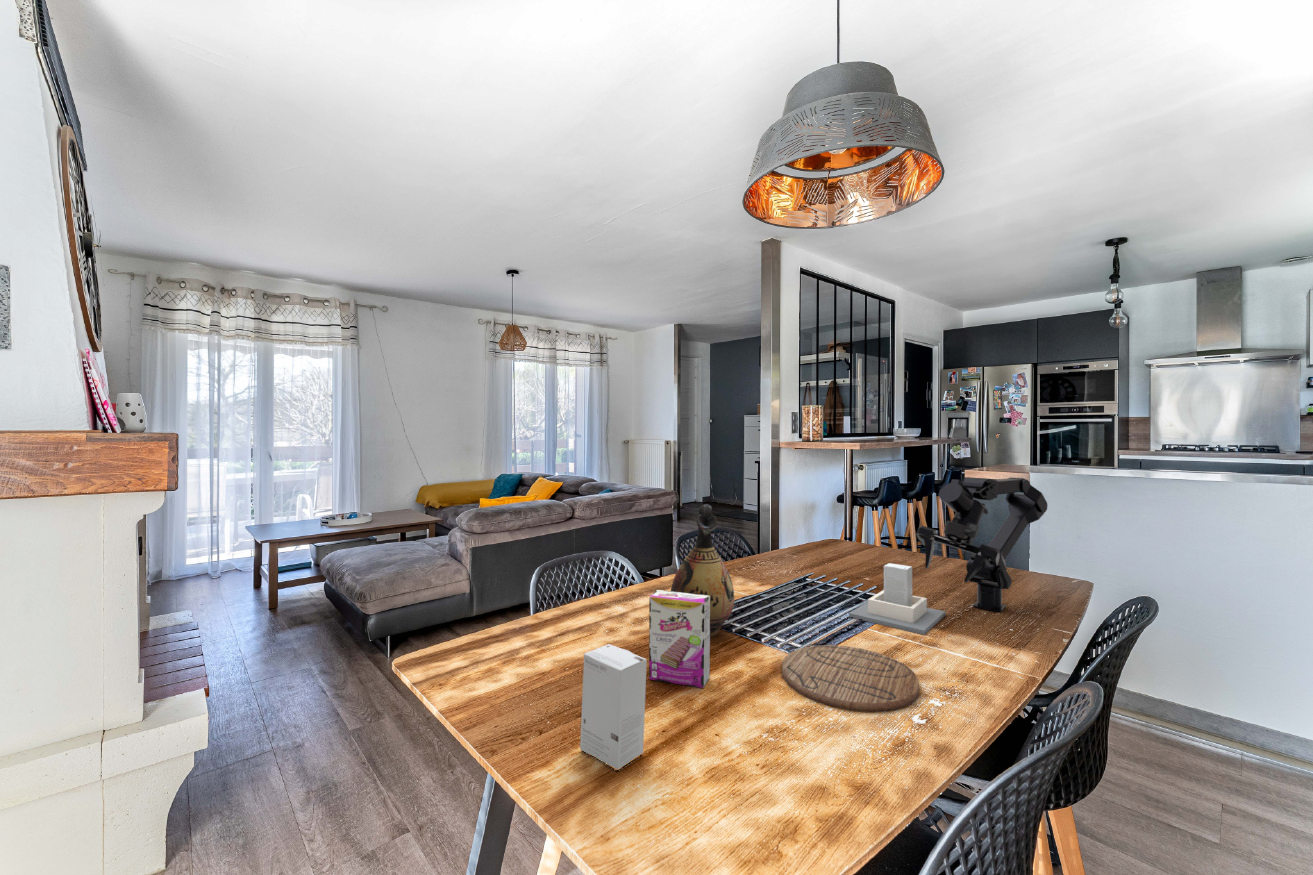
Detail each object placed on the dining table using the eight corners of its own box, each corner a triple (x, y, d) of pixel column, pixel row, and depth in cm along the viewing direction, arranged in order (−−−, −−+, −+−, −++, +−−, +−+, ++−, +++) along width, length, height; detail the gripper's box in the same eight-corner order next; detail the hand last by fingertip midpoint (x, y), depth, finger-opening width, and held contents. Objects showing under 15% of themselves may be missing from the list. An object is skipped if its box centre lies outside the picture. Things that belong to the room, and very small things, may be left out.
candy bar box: (647, 680, 105) (647, 596, 104) (656, 670, 109) (656, 588, 109) (704, 689, 101) (704, 602, 101) (710, 678, 106) (710, 594, 105)
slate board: (875, 600, 153) (875, 597, 153) (945, 615, 141) (945, 611, 141) (849, 616, 140) (849, 613, 140) (924, 634, 128) (924, 630, 128)
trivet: (910, 729, 88) (910, 717, 88) (763, 690, 101) (763, 680, 101) (926, 670, 110) (926, 661, 110) (803, 645, 123) (803, 636, 123)
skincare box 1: (579, 751, 82) (579, 653, 82) (608, 734, 86) (607, 641, 86) (619, 774, 76) (619, 669, 76) (647, 754, 81) (647, 655, 81)
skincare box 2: (912, 612, 140) (913, 566, 140) (907, 616, 137) (907, 569, 137) (888, 607, 144) (888, 562, 144) (882, 611, 141) (883, 565, 141)
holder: (883, 602, 148) (883, 589, 148) (926, 611, 141) (926, 598, 141) (867, 612, 140) (868, 599, 140) (913, 623, 133) (913, 608, 133)
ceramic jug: (738, 643, 123) (738, 511, 123) (670, 642, 123) (670, 510, 123) (729, 617, 140) (729, 501, 140) (669, 616, 140) (669, 500, 140)
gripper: (924, 497, 142) (902, 551, 139) (1005, 520, 130) (983, 579, 126) (930, 514, 150) (909, 565, 147) (1007, 537, 138) (987, 593, 134)
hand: (945, 575), depth 138 cm, fingers open, 9 cm apart
